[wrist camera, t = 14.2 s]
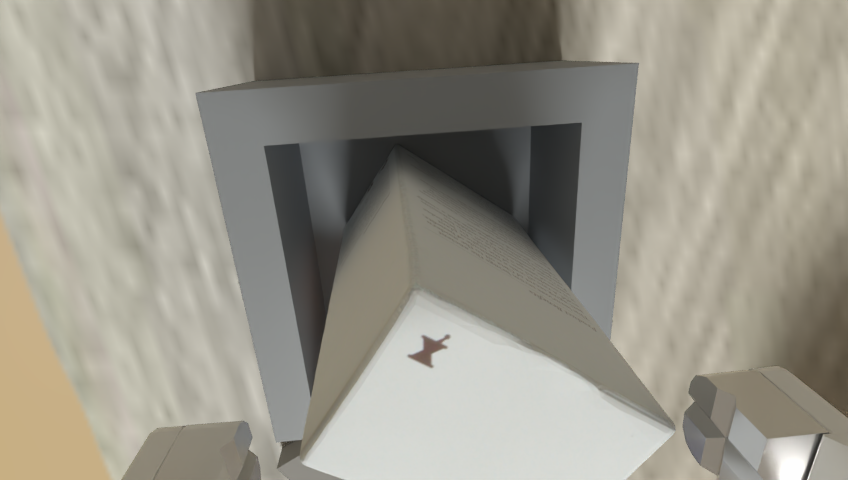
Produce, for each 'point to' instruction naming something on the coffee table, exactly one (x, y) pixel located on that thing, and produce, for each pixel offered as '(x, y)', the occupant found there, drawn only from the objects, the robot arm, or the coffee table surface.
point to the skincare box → (464, 351)
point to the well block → (435, 144)
